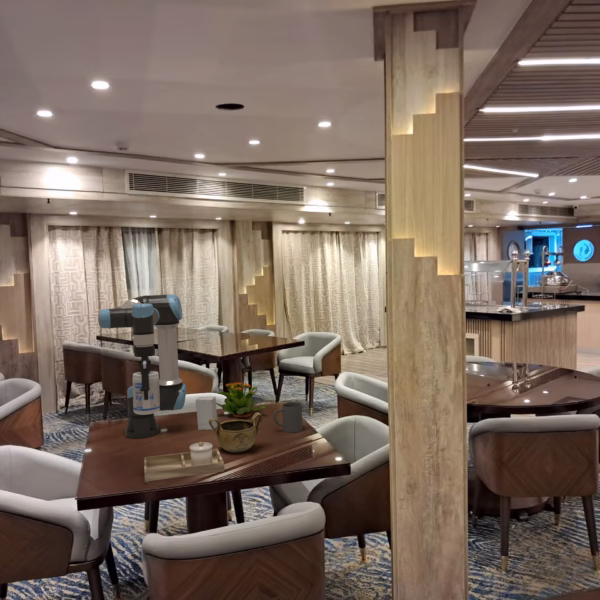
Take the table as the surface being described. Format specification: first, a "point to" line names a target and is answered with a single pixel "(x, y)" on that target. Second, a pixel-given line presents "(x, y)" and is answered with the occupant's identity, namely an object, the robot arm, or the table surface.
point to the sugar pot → (201, 453)
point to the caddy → (179, 466)
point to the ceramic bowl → (237, 433)
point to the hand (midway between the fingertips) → (147, 405)
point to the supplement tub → (153, 393)
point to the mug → (290, 417)
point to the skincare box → (206, 412)
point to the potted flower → (239, 400)
